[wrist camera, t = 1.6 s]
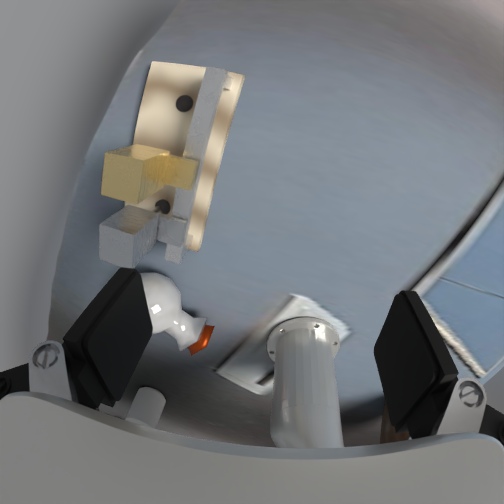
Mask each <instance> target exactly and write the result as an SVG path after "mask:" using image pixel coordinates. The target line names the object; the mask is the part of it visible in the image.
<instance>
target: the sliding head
mask: <svg viewBox="0 0 504 504" xmlns="http://www.w3.org/2000/svg"><path fill="white" fill-rule="evenodd" d="M198 163H199V161H196V160H192V159H188V158H183V157H179V156H175V155H171V154H170V151H167V150H163V149H158V148H153V147H149V146H144V145H139V144H135V145H131V146H127V147H123V148H119V149H115V150H112V151H108V152H105V158H104V167H103V176H102V188H101V195H104V196H108V197H111V198H115V199H118V200H122V201H125V202H129V203H132V204H136V205H138V204H139V203H141V202H142V201H144V200H145V199H147V198H148V197H150V196H151V195H153V194H154V193H156V192H157V191H159V190H160V189H162V188H163V187H164V184H166V185H170V186H174V187H178V188H181V189H185V190H189V191H190V190H191V189H193V185H194V180H195V176H196V171H197V167H198Z"/></svg>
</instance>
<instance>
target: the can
mask: <svg viewBox="0 0 504 504" xmlns="http://www.w3.org/2000/svg"><path fill="white" fill-rule="evenodd" d="M165 403H166V400H165V398H164V396H163V395H162V393H160V392H159V391H157V390H156V389H153V388H150V387H144V388H140V389H139V390H138V392H137V394H136V396H135V398H134V400H133V403H132V405H131V407H130V409H129V411H128V414H127V416H126V418H125V420H126V421H130V422H133V423H136V424H140V425H143V426H147V427H150V428H154V429H156V427H157V424H158V422H159V419H160V416H161V413H162V411H163V408H164V405H165Z"/></svg>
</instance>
